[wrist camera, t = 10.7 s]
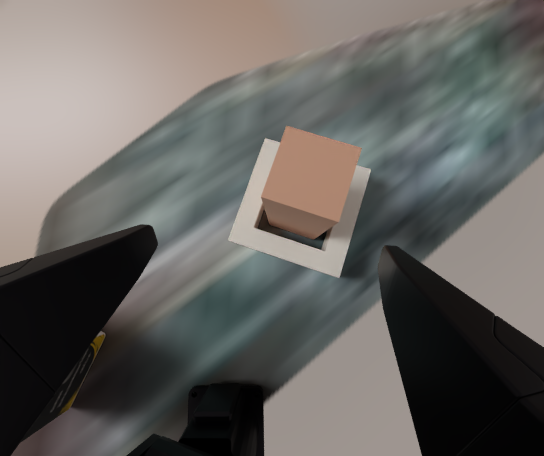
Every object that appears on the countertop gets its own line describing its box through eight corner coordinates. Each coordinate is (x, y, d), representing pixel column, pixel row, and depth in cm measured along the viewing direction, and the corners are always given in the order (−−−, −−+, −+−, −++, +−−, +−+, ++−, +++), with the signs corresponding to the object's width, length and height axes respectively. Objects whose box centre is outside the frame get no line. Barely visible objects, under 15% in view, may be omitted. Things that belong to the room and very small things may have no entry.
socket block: (332, 276, 22) (339, 278, 19) (233, 242, 23) (228, 240, 20) (361, 179, 23) (371, 169, 21) (266, 150, 24) (265, 138, 21)
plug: (313, 239, 22) (338, 222, 13) (269, 224, 23) (260, 196, 13) (327, 194, 23) (362, 145, 13) (284, 181, 23) (287, 122, 14)
